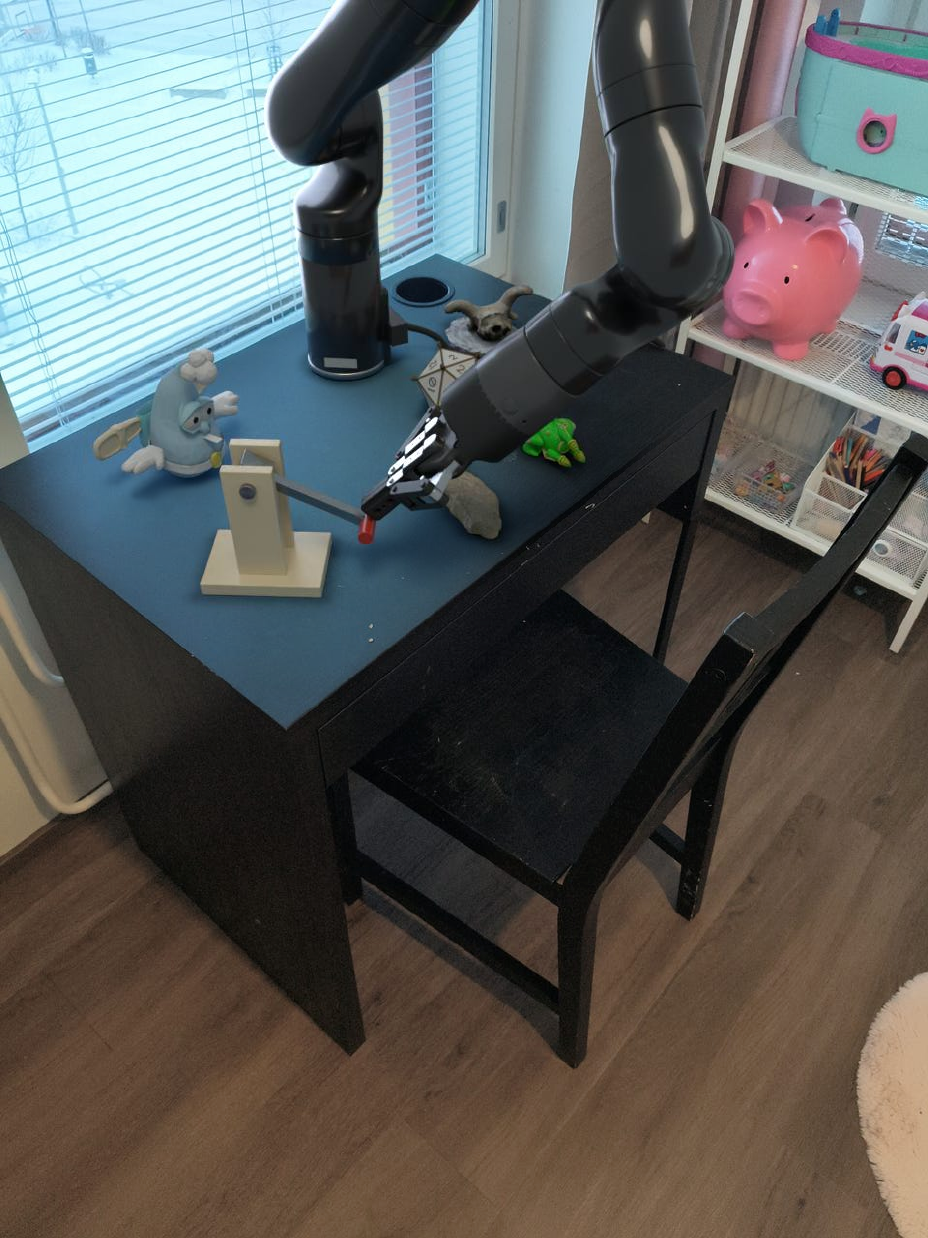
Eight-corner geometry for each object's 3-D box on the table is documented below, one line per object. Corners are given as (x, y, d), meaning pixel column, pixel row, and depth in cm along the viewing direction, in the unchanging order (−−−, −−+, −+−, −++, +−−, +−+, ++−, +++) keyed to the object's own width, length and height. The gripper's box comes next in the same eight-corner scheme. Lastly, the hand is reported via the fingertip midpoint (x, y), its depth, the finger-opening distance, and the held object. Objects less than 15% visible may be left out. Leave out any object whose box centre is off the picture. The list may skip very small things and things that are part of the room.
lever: (372, 516, 93) (383, 498, 91) (367, 550, 89) (378, 532, 88) (239, 459, 89) (248, 439, 87) (227, 493, 85) (237, 472, 84)
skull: (440, 329, 130) (434, 287, 126) (524, 309, 131) (521, 268, 127) (458, 370, 123) (453, 328, 119) (547, 350, 124) (545, 307, 120)
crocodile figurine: (519, 388, 118) (521, 356, 115) (602, 468, 107) (607, 434, 104) (470, 402, 116) (471, 369, 113) (549, 484, 104) (552, 450, 101)
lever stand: (332, 542, 97) (320, 431, 88) (321, 598, 91) (307, 484, 83) (220, 539, 97) (197, 427, 88) (202, 594, 92) (175, 481, 83)
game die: (467, 437, 117) (522, 375, 112) (438, 450, 110) (495, 384, 105) (415, 382, 118) (467, 318, 112) (382, 392, 110) (436, 324, 105)
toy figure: (180, 528, 98) (148, 396, 88) (101, 496, 102) (61, 365, 92) (282, 445, 109) (264, 318, 99) (207, 419, 113) (182, 294, 102)
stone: (472, 552, 98) (515, 544, 100) (478, 531, 96) (522, 523, 98) (415, 470, 105) (457, 464, 108) (420, 448, 103) (462, 443, 106)
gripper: (544, 469, 78) (393, 582, 86) (539, 381, 87) (404, 490, 96) (477, 409, 74) (327, 533, 83) (480, 323, 84) (345, 442, 92)
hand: (368, 510), depth 89 cm, fingers closed
